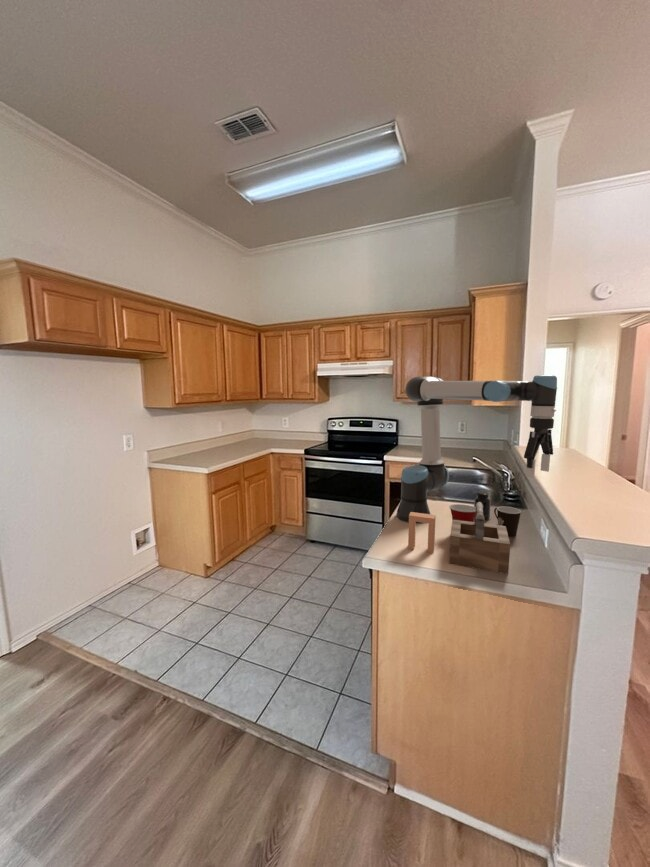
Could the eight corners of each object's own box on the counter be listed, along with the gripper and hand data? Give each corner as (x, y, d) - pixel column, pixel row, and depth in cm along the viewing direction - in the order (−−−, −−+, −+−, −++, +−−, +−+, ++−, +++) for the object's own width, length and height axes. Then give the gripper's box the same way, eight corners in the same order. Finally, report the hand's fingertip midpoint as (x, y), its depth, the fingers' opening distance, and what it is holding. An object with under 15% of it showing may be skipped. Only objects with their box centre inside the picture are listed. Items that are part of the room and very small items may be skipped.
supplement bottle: (470, 515, 166) (471, 490, 164) (484, 515, 166) (486, 490, 165) (478, 520, 159) (479, 495, 158) (492, 520, 160) (494, 494, 158)
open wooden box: (451, 544, 135) (453, 499, 133) (504, 552, 128) (507, 504, 126) (449, 563, 120) (451, 512, 118) (508, 573, 113) (511, 520, 111)
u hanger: (409, 544, 135) (410, 511, 133) (434, 548, 132) (435, 515, 130) (408, 549, 131) (408, 515, 130) (433, 553, 128) (434, 518, 126)
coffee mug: (522, 538, 140) (524, 514, 139) (498, 536, 142) (500, 512, 141) (513, 527, 151) (514, 504, 150) (491, 525, 153) (492, 503, 152)
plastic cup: (475, 531, 147) (476, 503, 146) (477, 542, 137) (479, 512, 135) (447, 528, 151) (449, 501, 149) (447, 538, 140) (449, 509, 139)
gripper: (539, 420, 120) (534, 481, 123) (565, 416, 136) (560, 470, 138) (516, 418, 126) (512, 476, 129) (544, 415, 141) (539, 467, 144)
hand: (537, 473), depth 134 cm, fingers open, 13 cm apart
